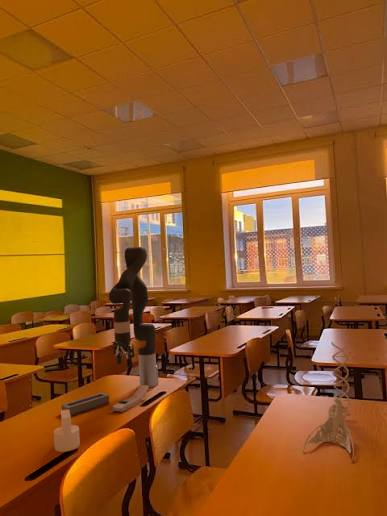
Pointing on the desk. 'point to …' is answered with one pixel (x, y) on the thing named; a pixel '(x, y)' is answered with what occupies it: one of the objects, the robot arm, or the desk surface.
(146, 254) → the robot arm
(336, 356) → the dna model
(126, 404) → the mobile phone
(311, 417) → the desk surface
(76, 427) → the cylinder with rectangular tab
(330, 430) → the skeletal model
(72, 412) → the pen tray
